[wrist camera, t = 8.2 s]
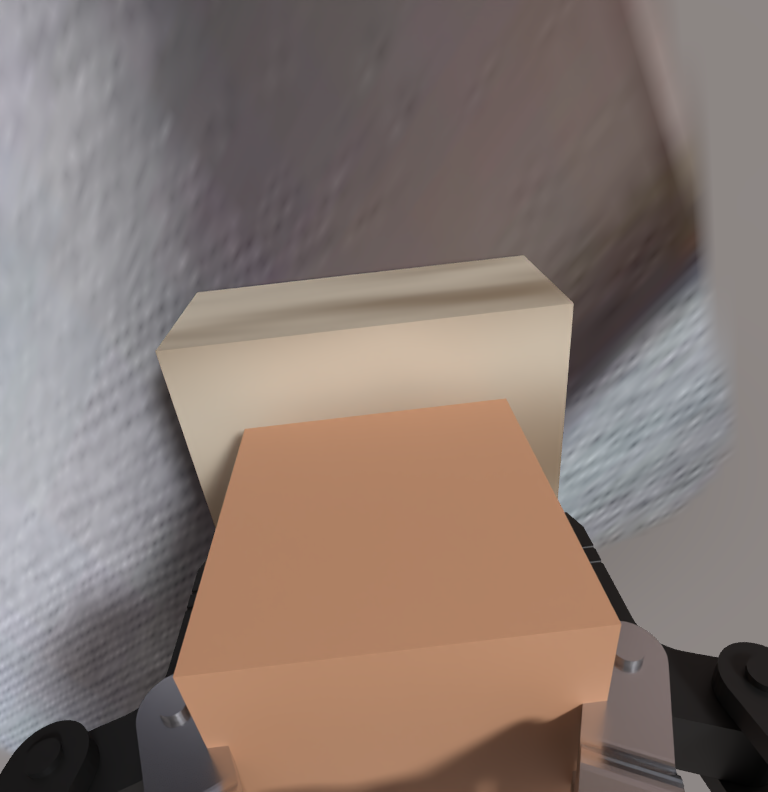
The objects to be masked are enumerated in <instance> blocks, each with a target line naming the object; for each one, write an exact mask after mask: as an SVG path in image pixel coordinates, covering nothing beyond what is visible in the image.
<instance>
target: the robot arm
mask: <svg viewBox="0 0 768 792" xmlns="http://www.w3.org/2000/svg"><path fill="white" fill-rule="evenodd" d="M564 513H565V515H566V517H567V519H568V521H569V523H570V525H571V527H572V529H573V531H574V532H575V534H576V536H577V538H578V540H579V542H580V544H581V546H582V548H583V550H584V552H585V554H586V556H587V558H588V560H589V562H590V564H591V566H592V568H593V570H594V572H595V574H596V575H597V577H598V579H599V581H600V583H601V585H602V587H603V589H604V591H605V593H606V595H607V597H608V599H609V601H610V603H611V605H612V607H613V609H614V611H615V613H616V615H617V617H618V619H619V620H620V622H621V629H620V634H619V640H618V645H617V650H616V656H615V661H614V667H613V672H612V677H611V683H610V688H609V694H608V699H607V701H600V702H592V703H583V706H582V713H581V719H580V732H579V745H578V758H577V769H576V771H573V773H572V780H571V788H570V792H685V791H684V785H683V781H682V778H681V776H679V775H677V773H676V769H679V770H683V771H688V772H692V773H696V774H700V776H701V777H702V779H703V780H704V782H705V783H706V785H707V786H708V788H709V789H710V791H711V792H768V647H765V646H763V645H759V644H755V643H748V642H739V643H734V644H731V645H729V646H727V647H726V648H724V649H723V650H722V652H721V653H720V655H719V657H712V656H707V655H701V654H695V653H690V652H684V651H680V650H675V649H673V648H670V647H667V646H665V645H663V644H661V643H660V642H659V641H658V640H657V639H656V638H655V637H654V636H653V635H652V634H651V633H649V632H648V631H647V630H645V629H643V628H642V627H640V626H638V625H637V624H636V623H635V622H634V620H633V618H632V616H631V615H630V613H629V611H628V609H627V607H626V605H625V603H624V601H623V600H622V598H621V596H620V594H619V592H618V590H617V589H616V587H615V585H614V583H613V581H612V579H611V578H610V575H609V574H608V572H607V570H606V568H605V566H604V564H603V563H601V559H600V557H599V555H598V553H597V551H596V549H595V548H593V544H592V542H591V540H590V538H589V536H588V534H587V533H586V531H585V529H584V527H583V526H582V525H581V524H579V523H578V522H577V521H576V520H575V519H574V518H572V517H571V516H570V515H569V514H568V513H566V512H564ZM206 561H207V560H206ZM206 561H205V563H204V564H203V565H202V567H201V568H200V569H199V570H198V573H197V576H196V580H195V583H194V586H193V590H192V595H191V596H190V599H189V603H188V606H187V608H188V610H187V611H186V613H185V616H184V619H183V623H182V626H181V629H180V633H179V636H178V639H177V643H176V646H175V649H174V653H173V656H172V659H171V663H170V666H169V669H168V672H167V675H166V678H165V679H163V680H162V681H160V682H159V683H158V684H156V685H155V686H154V687H153V688H152V689H151V690H150V691H149V692H148V694H147V695H146V696H145V698H144V699H143V701H142V703H141V705H140V707H139V708H138V709H136V710H135V711H133V712H132V713H130V714H128V715H126V716H123V717H121V718H119V719H117V720H114V721H112V722H110V723H107V724H105V725H103V726H100V727H98V728H96V729H93V730H91V731H89V732H87V730H86V729H85V727H84V726H83V725H82V724H80V723H78V722H76V721H71V720H64V721H59V722H55V723H52V724H49V725H47V726H45V727H43V728H42V729H40V730H38V731H37V732H35V733H34V734H33V735H31V736H30V737H29V738H28V739H26V740H25V741H24V742H23V743H22V744H21V745H20V746H19V748H18V749H17V750H16V751H15V752H14V754H13V755H12V757H11V758H10V759H9V761H8V763H7V764H6V766H5V767H4V769H3V770H2V772H1V774H0V792H244V791H243V788H242V784H241V781H240V777H239V773H238V770H237V766H236V762H235V760H234V757H233V755H232V753H231V751H230V748H229V746H221V747H213V748H207V747H206V745H205V743H204V741H203V739H202V737H201V735H200V732H199V730H198V728H197V726H196V724H195V722H194V720H193V718H192V716H191V714H190V712H189V710H188V708H187V706H186V704H185V702H184V699H183V697H182V695H181V693H180V691H179V689H178V687H177V685H176V683H175V681H174V679H173V675H174V672H175V668H176V665H177V661H178V658H179V654H180V651H181V647H182V644H183V640H184V637H185V634H186V630H187V627H188V623H189V620H190V616H191V613H192V609H193V606H194V603H195V599H196V596H197V592H198V589H199V585H200V582H201V578H202V575H203V571H204V568H205V565H206Z"/></svg>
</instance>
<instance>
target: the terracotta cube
mask: <svg viewBox="0 0 768 792" xmlns="http://www.w3.org/2000/svg"><path fill="white" fill-rule="evenodd" d="M620 629H621V622H620V620H619V619H618V617H617V615H616V613H615V611H614V609H613V607H612V605H611V603H610V601H609V599H608V597H607V595H606V593H605V591H604V589H603V587H602V585H601V583H600V581H599V579H598V577H597V575H596V574H595V572H594V570H593V568H592V566H591V564H590V562H589V560H588V558H587V556H586V554H585V552H584V550H583V548H582V546H581V544H580V542H579V540H578V538H577V536H576V534H575V532H574V531H573V529H572V527H571V525H570V523H569V521H568V519H567V517H566V515H565V513H564V511H563V509H562V507H561V505H560V503H559V501H558V499H557V497H556V495H555V493H554V491H553V489H552V487H551V486H550V484H549V482H548V480H547V478H546V476H545V474H544V472H543V470H542V468H541V466H540V464H539V462H538V460H537V458H536V456H535V454H534V452H533V450H532V448H531V446H530V444H529V442H528V441H527V439H526V437H525V435H524V433H523V431H522V429H521V427H520V425H519V423H518V421H517V419H516V417H515V415H514V413H513V411H512V409H511V407H510V405H509V403H508V401H507V399H497V400H488V401H480V402H471V403H463V404H454V405H446V406H437V407H428V408H420V409H411V410H403V411H394V412H386V413H377V414H368V415H360V416H351V417H343V418H334V419H326V420H317V421H308V422H300V423H291V424H283V425H274V426H266V427H257V428H248V429H245V430H244V433H243V437H242V440H241V444H240V447H239V451H238V454H237V457H236V461H235V464H234V468H233V471H232V475H231V478H230V482H229V485H228V489H227V492H226V495H225V499H224V502H223V506H222V509H221V513H220V516H219V520H218V523H217V527H216V530H215V533H214V537H213V540H212V544H211V547H210V551H209V554H208V558H207V561H206V565H205V568H204V571H203V575H202V578H201V582H200V585H199V589H198V592H197V596H196V599H195V603H194V606H193V609H192V613H191V616H190V620H189V623H188V627H187V630H186V634H185V637H184V640H183V644H182V647H181V651H180V654H179V658H178V661H177V665H176V668H175V672H174V675H173V679H174V681H175V683H176V685H177V687H178V689H179V691H180V693H181V695H182V697H183V699H184V702H185V704H186V706H187V708H188V710H189V712H190V714H191V716H192V718H193V720H194V722H195V724H196V726H197V728H198V730H199V732H200V735H201V737H202V739H203V741H204V743H205V745H206V747H207V748H213V747H221V746H229V748H230V751H231V753H232V755H233V757H234V760H235V762H236V766H237V770H238V773H239V777H240V781H241V784H242V788H243V791H244V792H570V788H571V780H572V773H573V771H576V769H577V758H578V745H579V732H580V719H581V713H582V706H583V703H592V702H600V701H607V699H608V694H609V688H610V683H611V677H612V672H613V667H614V661H615V656H616V650H617V645H618V640H619V634H620Z"/></svg>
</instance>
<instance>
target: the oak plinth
mask: <svg viewBox="0 0 768 792" xmlns="http://www.w3.org/2000/svg"><path fill="white" fill-rule="evenodd" d="M573 304H574V303H573V302H572V301H571V300H570V299H568V298H567V297H566V296H565V295H564V294H563V293H562V292H561V291H560V290H559V289H558V288H557V287H556V286H555V285H554V284H553V283H552V282H551V281H550V280H549V279H548V278H547V277H546V276H544V275H543V274H542V273H541V272H540V271H539V270H538V269H537V268H536V267H535V266H534V265H533V264H532V263H531V262H530V261H529V260H528V259H527V258H526V257H525V256H524V255H522V256H513V257H504V258H495V259H487V260H478V261H469V262H460V263H452V264H443V265H434V266H425V267H417V268H408V269H399V270H390V271H381V272H373V273H364V274H355V275H346V276H338V277H329V278H320V279H311V280H303V281H294V282H285V283H276V284H267V285H259V286H250V287H241V288H232V289H224V290H215V291H206V292H197V293H196V295H195V296H194V298H193V299H192V301H191V302H190V303H189V305H188V306H187V308H186V309H185V310H184V312H183V313H182V315H181V316H180V317H179V319H178V320H177V322H176V323H175V324H174V326H173V327H172V329H171V330H170V332H169V333H168V334H167V336H166V337H165V339H164V340H163V341H162V343H161V344H160V346H159V347H158V348H157V350H156V354H157V357H158V360H159V363H160V366H161V369H162V372H163V375H164V378H165V381H166V384H167V387H168V390H169V393H170V396H171V399H172V402H173V405H174V407H175V410H176V413H177V416H178V419H179V422H180V425H181V428H182V431H183V434H184V437H185V440H186V443H187V446H188V449H189V452H190V455H191V458H192V461H193V463H194V466H195V469H196V472H197V475H198V478H199V481H200V484H201V487H202V490H203V493H204V496H205V499H206V502H207V505H208V508H209V511H210V514H211V517H212V519H213V522H214V525H215V528H216V527H217V523H218V520H219V516H220V513H221V509H222V506H223V502H224V499H225V495H226V492H227V489H228V485H229V482H230V478H231V475H232V471H233V468H234V464H235V461H236V457H237V454H238V451H239V447H240V444H241V440H242V437H243V433H244V430H245V429H248V428H257V427H266V426H274V425H283V424H291V423H300V422H308V421H317V420H326V419H334V418H343V417H351V416H360V415H368V414H377V413H386V412H394V411H403V410H411V409H420V408H428V407H437V406H446V405H454V404H463V403H471V402H480V401H488V400H497V399H507V401H508V403H509V405H510V407H511V409H512V411H513V413H514V415H515V417H516V419H517V421H518V423H519V425H520V427H521V429H522V431H523V433H524V435H525V437H526V439H527V441H528V442H529V444H530V446H531V448H532V450H533V452H534V454H535V456H536V458H537V460H538V462H539V464H540V466H541V468H542V470H543V472H544V474H545V476H546V478H547V480H548V482H549V484H550V486H551V487H552V489H553V491H554V493H555V495H556V497H557V499H558V488H559V476H560V464H561V451H562V439H563V427H564V415H565V402H566V390H567V378H568V366H569V353H570V341H571V329H572V317H573Z"/></svg>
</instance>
